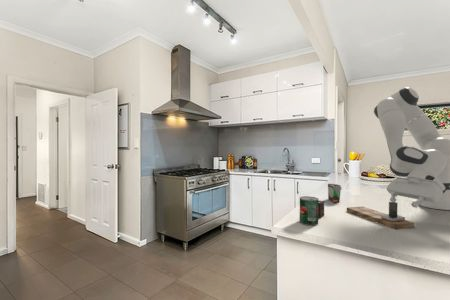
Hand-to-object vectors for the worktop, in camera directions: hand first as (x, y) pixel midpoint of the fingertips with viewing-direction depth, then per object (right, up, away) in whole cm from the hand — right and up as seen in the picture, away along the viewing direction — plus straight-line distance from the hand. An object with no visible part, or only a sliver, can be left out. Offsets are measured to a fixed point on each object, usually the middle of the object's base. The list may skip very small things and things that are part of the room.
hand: (402, 203), depth 97 cm
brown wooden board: (-6, -9, +7) cm, 13 cm away
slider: (-4, -7, 0) cm, 8 cm away
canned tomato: (-40, -9, +2) cm, 41 cm away
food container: (-9, -9, +41) cm, 42 cm away
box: (-33, -9, +11) cm, 36 cm away
